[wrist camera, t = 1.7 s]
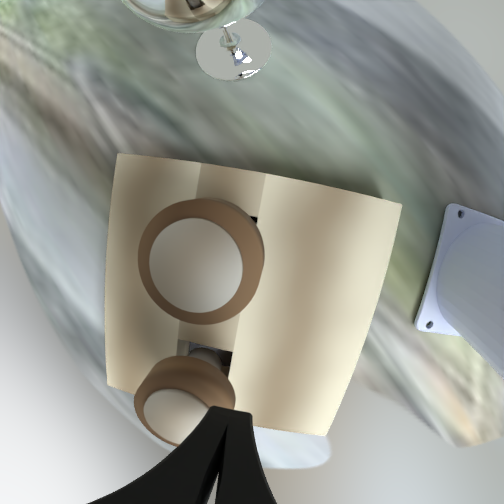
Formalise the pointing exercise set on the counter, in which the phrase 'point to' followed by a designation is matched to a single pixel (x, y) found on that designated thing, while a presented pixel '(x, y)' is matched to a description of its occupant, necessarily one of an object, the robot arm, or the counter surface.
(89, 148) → the counter surface
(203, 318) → the knob
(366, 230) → the knob panel
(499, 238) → the robot arm
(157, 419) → the knob
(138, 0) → the wineglass
